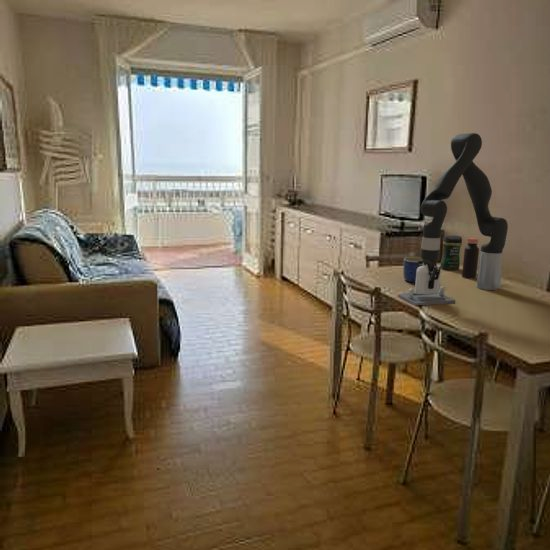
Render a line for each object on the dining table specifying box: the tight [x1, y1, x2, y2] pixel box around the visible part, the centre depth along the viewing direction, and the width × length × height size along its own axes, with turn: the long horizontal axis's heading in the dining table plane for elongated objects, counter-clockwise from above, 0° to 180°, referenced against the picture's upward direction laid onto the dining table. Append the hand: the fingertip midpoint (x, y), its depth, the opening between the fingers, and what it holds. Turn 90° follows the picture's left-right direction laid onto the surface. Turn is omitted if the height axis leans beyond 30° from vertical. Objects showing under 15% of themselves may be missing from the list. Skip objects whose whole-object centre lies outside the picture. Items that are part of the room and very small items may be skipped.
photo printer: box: [414, 265, 442, 294], centre depth 204 cm, size 10×4×12 cm, turn 98°
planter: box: [403, 256, 423, 283], centre depth 237 cm, size 12×12×11 cm
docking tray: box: [397, 285, 456, 307], centre depth 206 cm, size 19×14×5 cm
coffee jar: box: [439, 235, 463, 271], centre depth 262 cm, size 10×8×19 cm
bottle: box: [461, 237, 480, 279], centre depth 244 cm, size 7×7×20 cm
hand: (427, 286), depth 205 cm, fingers closed on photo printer, 4 cm apart
